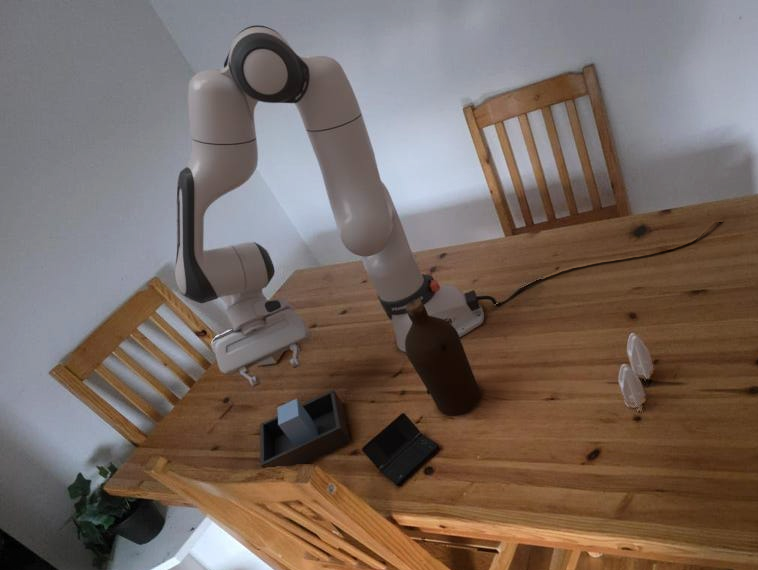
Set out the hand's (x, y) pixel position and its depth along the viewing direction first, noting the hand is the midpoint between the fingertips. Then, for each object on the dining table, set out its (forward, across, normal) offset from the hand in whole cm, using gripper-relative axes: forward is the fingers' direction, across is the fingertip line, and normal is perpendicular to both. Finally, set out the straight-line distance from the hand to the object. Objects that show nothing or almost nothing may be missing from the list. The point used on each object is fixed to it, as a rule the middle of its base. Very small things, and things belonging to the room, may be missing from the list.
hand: (276, 376), depth 128 cm
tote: (+15, 0, +3) cm, 16 cm away
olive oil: (+22, +33, -3) cm, 40 cm away
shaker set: (+35, +64, -17) cm, 75 cm away
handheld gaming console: (+28, +19, -9) cm, 35 cm away
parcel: (+15, 0, +3) cm, 15 cm away
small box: (-14, -7, +32) cm, 36 cm away
